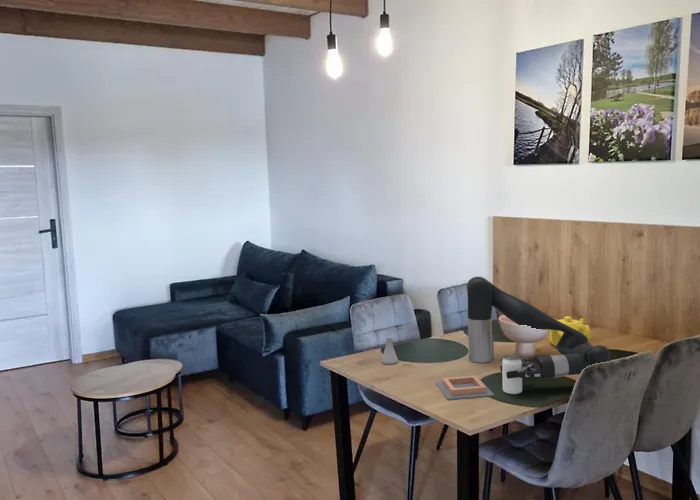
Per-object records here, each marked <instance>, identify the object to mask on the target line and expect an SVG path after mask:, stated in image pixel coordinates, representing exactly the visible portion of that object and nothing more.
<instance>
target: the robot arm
mask: <svg viewBox="0 0 700 500" xmlns="http://www.w3.org/2000/svg"><path fill="white" fill-rule="evenodd" d="M466 292H467V335H468V337H467V338H468V339H467V340H468V342H467V343H468V344H467V345H468V360H469V361H470V362H471V363H472V362H473V363H480V364H485V363H490V362H492V361H493V359H495V358H494V357H495V351H494V349H495V347H494V346H495V345H494V343H495V341H494V340H495V339H494V335H493V333H492V328H493V327H492V326H493V325H492V324H493V323H492V313H493V308H495V309H496V310H498V311H499V312H500V313H501V314H503V315H504V316H505V317H506V318H508V319H509V320H510V321H512V322H513V323H514V324H516V325H518V326H520V325H527V326H531V328H536V329H542V330H541V331H543V330H544V331H545V330H546V331H547V330H558V331H562V332H564V333H563V335H562V337H561V338H560V340H559V342H558V344H557V347H556V346H555V347H556V350H557V352H558V353H560V354H552V355H551V354H550V355H543V356H541V355H540V356H537V357H535V361H534V362H533V361H532V362H531V361H528V359H521V361H522V369H521V370H518V371H509V372H506V376H507V378H508V379H510V378H518V377H519V378H522V381H526V380H527V381H528V380H537V379H538V380H546V379H547V380H548V379H553V378H554V379H555V378H562V377H566V376H567V377H568V376H573V375H581V374H580V373H581V371H582V370H583V369H584V368H586V367H589V365H592V364H595V363H600V362H606V361H610V362H611V355H610V354H611V353H610V350H609V348H607V347H606V346H604V345H591V344H588V341H589V340H588V338H587V337H586V336H585V335H584V334H583V333H581V332H579V331H577V330H575V329H573V328H571V327H569V326H567V325H565V324H563V323H561V322H559V321H557V320H558V319H556V318H553V317H552V316H550V315H549V314H548V313H545V312H544V311H542V310H540V309H539V308H537V307H536V306H533V305H531V304H530V303H528V302H526V301H524V300H522V299H521V298H518V297H516V296H514V295H512V294H510V293H507V292H506V291H503V290H502V289H500V288H499V287H498V286H496V285H494V284H493V283H492V282H490V281H489V280H487V279H486V278H485V277H483V276H474V277H471V278H470V279H469V280H468V282H467V283H466ZM555 319H556V320H555ZM499 370H500V372H501V373H502V364H501V365H500V366H499Z"/></svg>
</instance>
